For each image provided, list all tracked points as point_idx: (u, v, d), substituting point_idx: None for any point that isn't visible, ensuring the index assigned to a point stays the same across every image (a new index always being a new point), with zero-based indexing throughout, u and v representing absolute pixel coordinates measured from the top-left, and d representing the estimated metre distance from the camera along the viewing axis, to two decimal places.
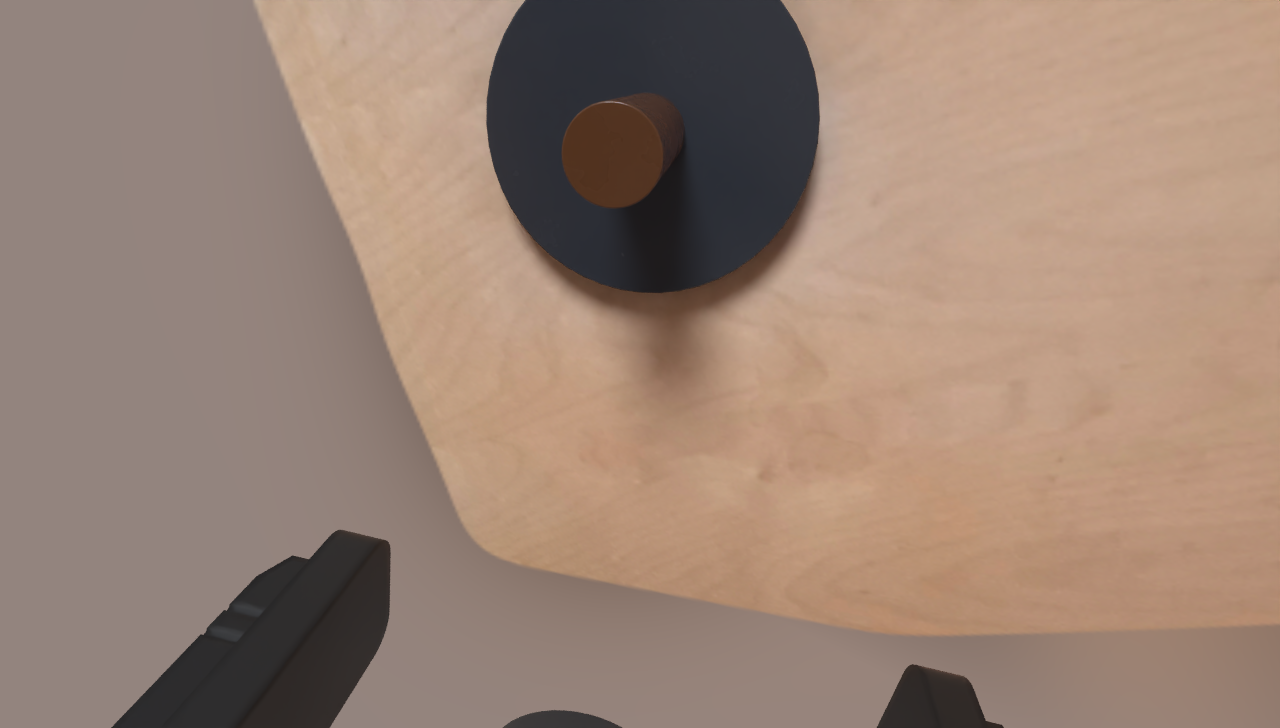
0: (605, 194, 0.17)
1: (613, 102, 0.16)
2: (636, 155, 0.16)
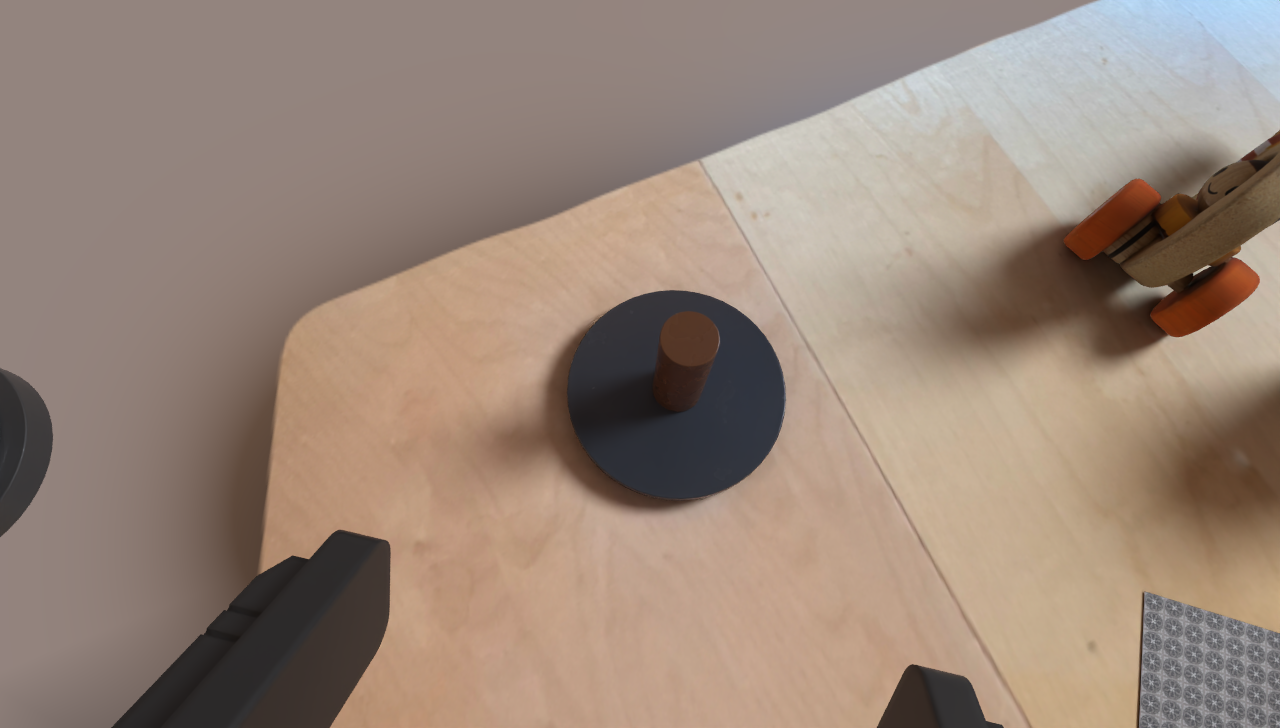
0: (667, 338, 0.28)
1: (718, 334, 0.29)
2: (693, 351, 0.28)
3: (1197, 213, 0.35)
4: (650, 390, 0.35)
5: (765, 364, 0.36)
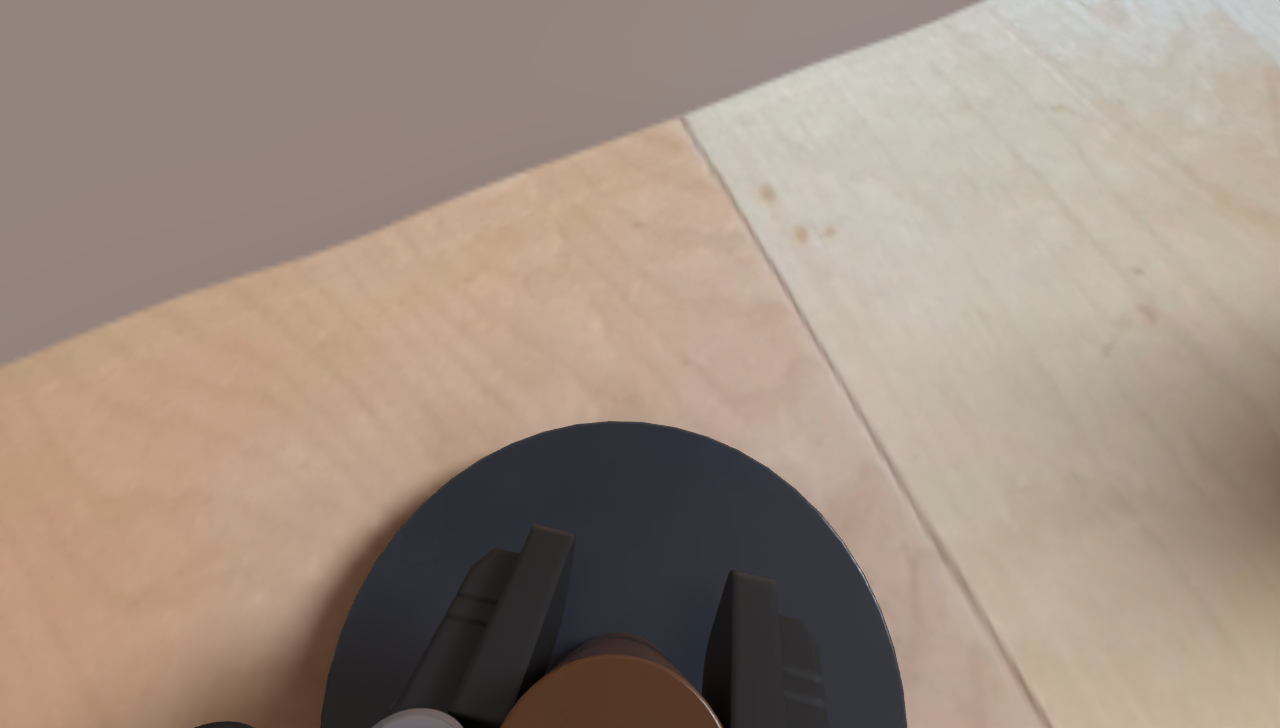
0: None
1: None
2: None
3: None
4: None
5: (848, 626, 0.14)
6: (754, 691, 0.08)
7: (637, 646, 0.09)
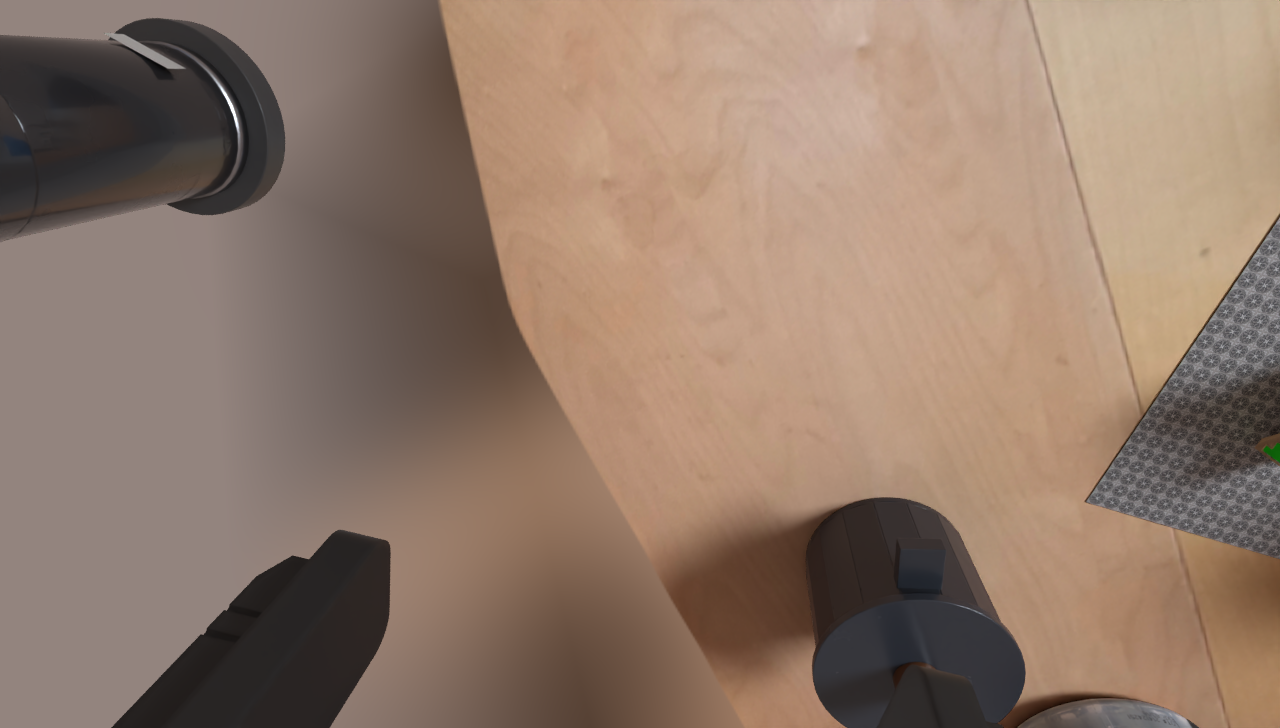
0: None
1: None
2: None
3: None
4: (890, 678, 0.38)
5: (1009, 666, 0.37)
6: None
7: None
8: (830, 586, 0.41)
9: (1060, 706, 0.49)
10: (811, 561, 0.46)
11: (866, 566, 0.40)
